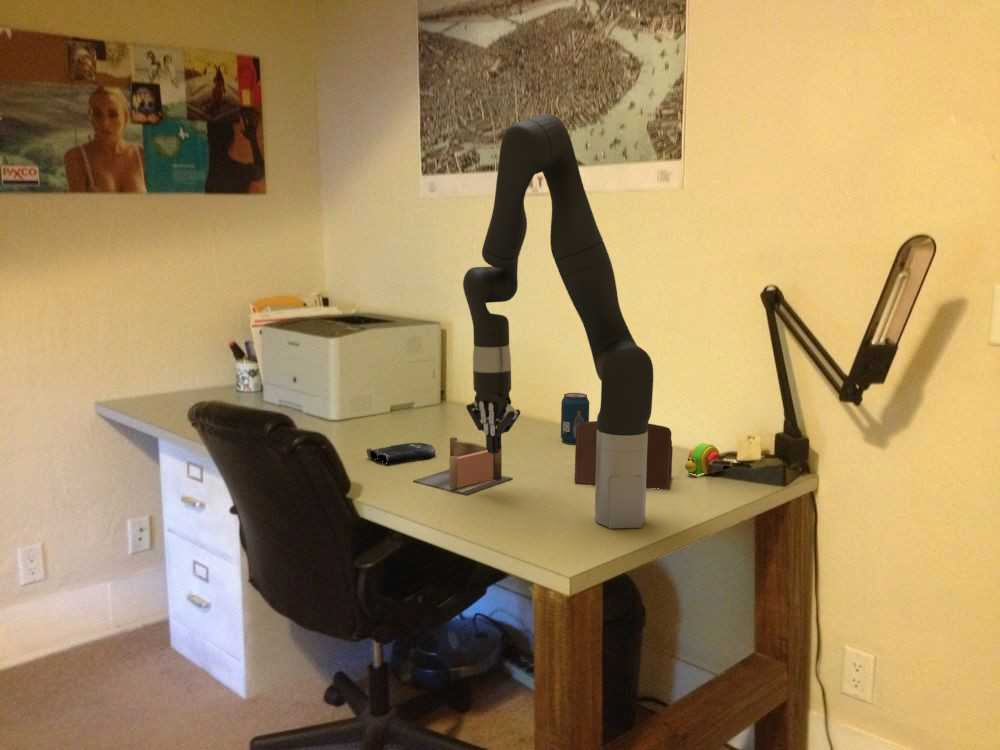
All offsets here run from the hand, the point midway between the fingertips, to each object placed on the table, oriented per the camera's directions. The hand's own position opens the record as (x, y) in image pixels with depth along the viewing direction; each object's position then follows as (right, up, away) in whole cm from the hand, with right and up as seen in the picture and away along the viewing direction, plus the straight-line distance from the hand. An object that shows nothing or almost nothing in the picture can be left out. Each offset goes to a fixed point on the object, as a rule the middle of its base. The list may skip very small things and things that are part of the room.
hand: (493, 452), depth 184 cm
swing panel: (-5, -7, +6) cm, 10 cm away
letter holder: (+28, -7, +11) cm, 31 cm away
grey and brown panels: (-7, -7, +11) cm, 14 cm away
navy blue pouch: (-21, -4, +29) cm, 36 cm away
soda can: (+20, -1, +45) cm, 49 cm away
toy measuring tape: (+49, -6, +20) cm, 53 cm away
